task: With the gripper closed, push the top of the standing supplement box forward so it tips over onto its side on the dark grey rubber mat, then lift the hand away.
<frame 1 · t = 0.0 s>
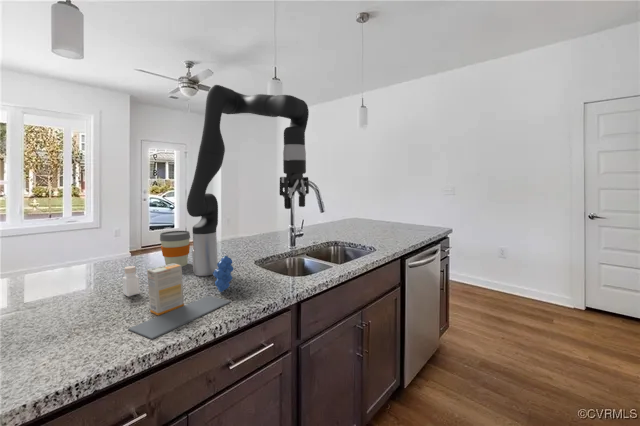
hand: (295, 207, 103), 29 cm above the worktop, tool pointing down, fingers open, 8 cm apart
rubber mat: (184, 314, 88), on the worktop
supplement box: (167, 309, 92), on the worktop
reusable coffee cup: (176, 265, 140), on the worktop
pepper shaker: (132, 294, 104), on the worktop
grapes: (222, 290, 108), on the worktop
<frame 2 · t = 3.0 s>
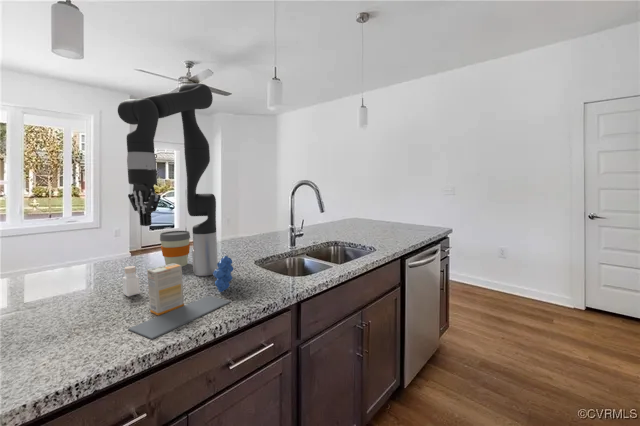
hand: (146, 225, 93), 25 cm above the worktop, tool pointing down, fingers closed
nothing on the worktop moved.
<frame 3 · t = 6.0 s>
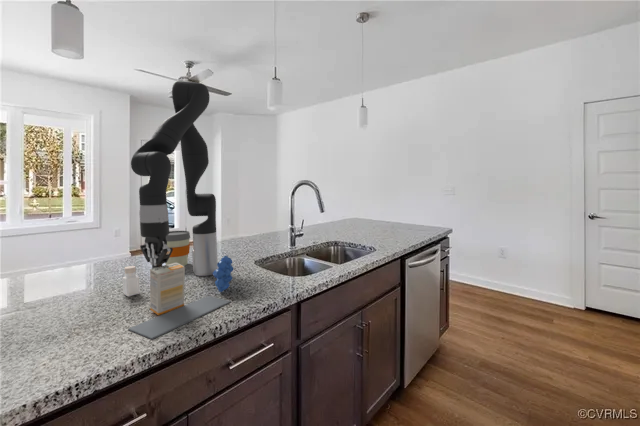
hand: (157, 276, 92), 10 cm above the worktop, tool pointing down, fingers closed
supplement box: (167, 308, 92), on the worktop, touching gripper
everything else where it was.
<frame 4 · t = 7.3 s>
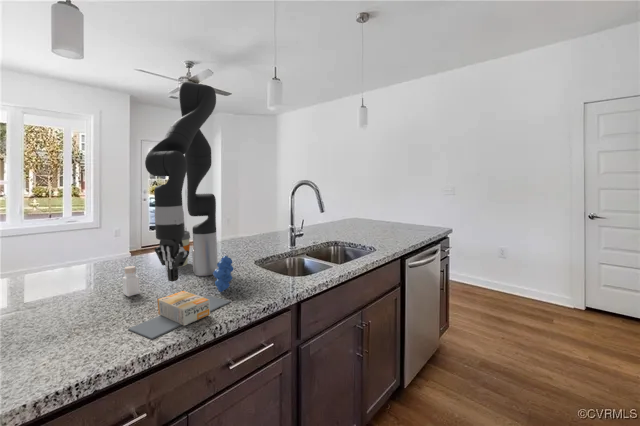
hand: (173, 280, 89), 10 cm above the worktop, tool pointing down, fingers closed
supplement box: (170, 301, 91), point 3 cm above the worktop, touching rubber mat
everything else where it was.
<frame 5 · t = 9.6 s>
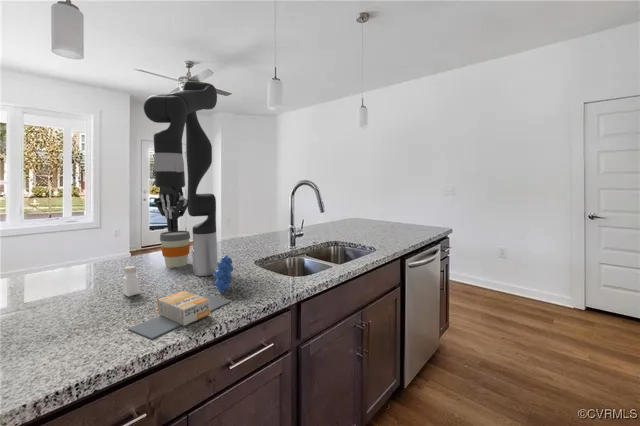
hand: (173, 231, 87), 24 cm above the worktop, tool pointing down, fingers closed
nothing on the worktop moved.
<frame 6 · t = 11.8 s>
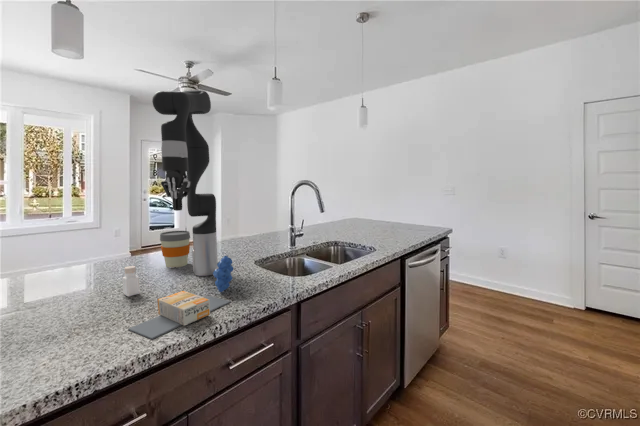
hand: (177, 210, 99), 29 cm above the worktop, tool pointing down, fingers closed
nothing on the worktop moved.
at the end: supplement box tilted 90°; supplement box inside the target area (3.1 cm from its centre), point 2.8 cm above the worktop; supplement box touching rubber mat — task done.
